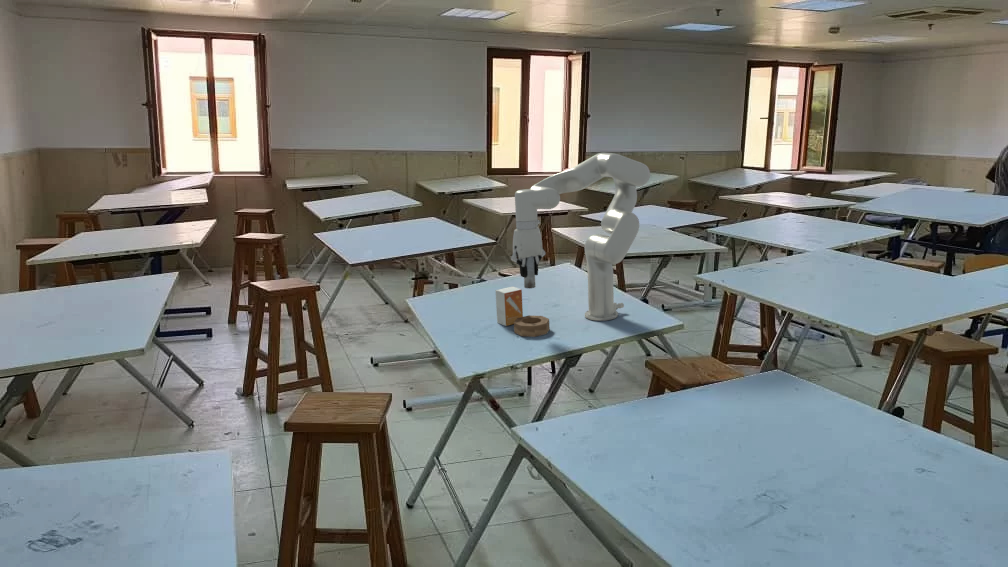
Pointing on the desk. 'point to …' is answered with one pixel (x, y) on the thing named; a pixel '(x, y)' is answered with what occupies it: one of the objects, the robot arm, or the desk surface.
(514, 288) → the small box
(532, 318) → the brown octagonal ring
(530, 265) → the peg
